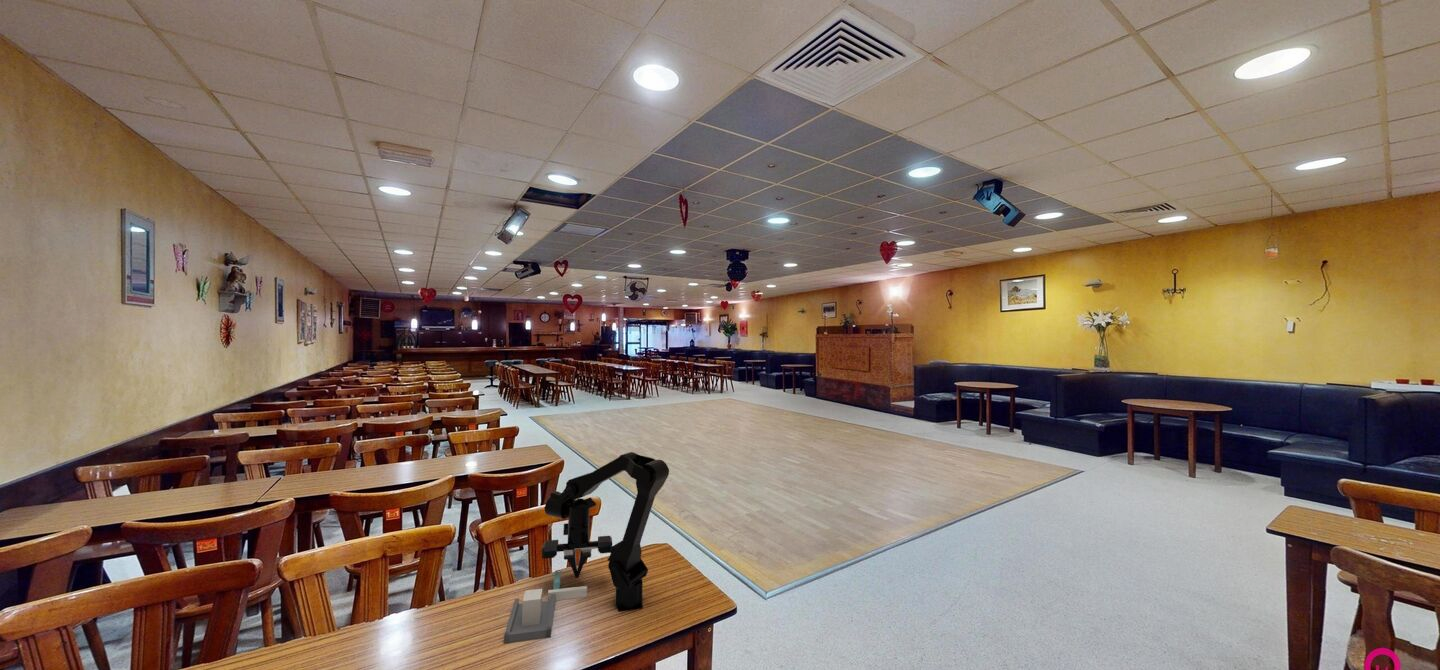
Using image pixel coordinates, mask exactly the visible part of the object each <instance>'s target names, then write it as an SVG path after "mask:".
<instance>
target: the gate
mask: <svg viewBox="0 0 1440 670" xmlns="http://www.w3.org/2000/svg"><path fill="white" fill-rule="evenodd" d="M560 570H561V569H559V570H555V572H556V573H555V572H554V577H553V587H552V588H553V589H548V590H547V591H548V592H547V601H551V596H552V595H553V594H556V601H562V600H570V599H571V600H572V599H581V598H587V597H588V596H587V595H588V585H584V586H575V587H563V588H561V585H562V583H561V582H562V581H561V580H562V570H561V571H560ZM557 571H560V572H557Z"/></svg>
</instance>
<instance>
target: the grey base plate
mask: <svg viewBox="0 0 1440 670" xmlns="http://www.w3.org/2000/svg"><path fill="white" fill-rule="evenodd" d="M556 601H557V600H556V594H553V595H552V596H551V601H548V600H545V601H544V600H542V613H541V619H540V624H537V625H529V626H522V609H523V603H520V598H519V597H518V598H514V602H513V604H512V608H511V611H510V614H509V618H508V622H507V625H506V627H505V631H504V634H503V644H504V645H505V644H511V643H519V642H525V641H534V640H542V639H550V638H551V635H552V629H553V624H554V623H553V621H554V616H555V615H554V614H555V607H556Z"/></svg>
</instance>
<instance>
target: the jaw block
mask: <svg viewBox="0 0 1440 670" xmlns="http://www.w3.org/2000/svg"><path fill="white" fill-rule="evenodd" d="M542 601H543V588H536V589H527V590H525V591H524V595H523V599H522V604H523V609H522V626H529V625H537V624H540V619H541V613H542Z"/></svg>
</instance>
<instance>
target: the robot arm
mask: <svg viewBox="0 0 1440 670" xmlns="http://www.w3.org/2000/svg"><path fill="white" fill-rule="evenodd" d="M623 472H626V473H627V474H628V476H629V477H630V478H632V479H633V480H635V487H636V491H637V494H636V496H635V498H634V499H635V500H634V503H633V507H632V509H631V512H630V516H629V519H628V522H627V526H626V528H625V531H624V534H623V537H622V540H621V541H619V542H617V543H615V544H614V545H613V538H612V536H611V535H602V536H601V535H600V536H599V535H598V536H597V540H592V541H591V540H590V509H591V508H594V507H596V506H597V503H596V501H594V500H593V498H592V497H588V498H583V497H585V496H588V495H590V494H592V493H593V492H594V491H596V490H597V489H599V486H600V485H602V484H603V483H605V482H606V481H607V480H610V479H611V478H613V477H616V476H617V475H619V474H621V473H623ZM669 474H670V468H669V467H668V464H667V463H666V462H665V461H664V460H662V459H655V458H653V457H649V456H645V455H641V454H638V453H636V452H634V451H629V452H626V453H623V454H621V455H619V456H618V457H616V458H614V459H613V460H611V461H610V462H608V463H605V464H604V465H603V466H601V467H599V468H597V469H595V470H593V471H591V472H588V473H585V474H582V475H579V476H575V477H574V478H571V479H569V480H567V481H566V483H565V484H566V485H565V488H564V489H563V490H562V492H560V491H556V490H555V491H553V492H551V493H550V497H549V498H548V499H547V501H546V503H545V505H544V512H545V515H546V516H549V517H554V518H558V519H563V520H566V519H567V518H568V519H567V521H568V523H563V532H562V533H563V536H567V543H559V539H549V540H548V539H547V540H545V541H544V542H543V545H542V548H541V559H554V558H555V557H556V556H557V555H558V552H559V553H560V552H563V560H565V561H566V560H567V562H568V564H569V565H570V567H571V569H572V572H573V575H574V578H575V579H579V578H580V575H581V571H582V570H583V567H584V565H585V563H586V561H587V559H588V558H589V559H590V558H592V550H593V549H597V552H598V553H600V555H601V554H609V557H608V558H607V561H608V570H609V573H610V576H611V581H612V585H613V587H615V591H614V593H615V595H614V596H615V597H614V604H615V607H616V608H617V612H626V611H634V610H643V609H644V605H643V585H644V584H643V583H644V582H643V579H644V578H645V577H647V576H648V572H649V568H648V567H647V565H646V564H645V563H644V561H643V559H642V546H641V543H642V538H643V535H644V532H645V528H646V526H647V523H648V520H649V516H650V513H651V510H652V507H653V504H654V501H655V498H656V495H657V494H658V493H659V492H660V490H661V488H663V487H664V485H665V483H666V481H667V479H668V477H669ZM577 551H580V552H579V558H578V562H577ZM577 563H578V564H577Z"/></svg>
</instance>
